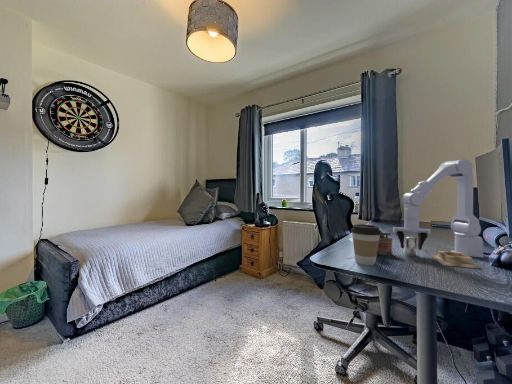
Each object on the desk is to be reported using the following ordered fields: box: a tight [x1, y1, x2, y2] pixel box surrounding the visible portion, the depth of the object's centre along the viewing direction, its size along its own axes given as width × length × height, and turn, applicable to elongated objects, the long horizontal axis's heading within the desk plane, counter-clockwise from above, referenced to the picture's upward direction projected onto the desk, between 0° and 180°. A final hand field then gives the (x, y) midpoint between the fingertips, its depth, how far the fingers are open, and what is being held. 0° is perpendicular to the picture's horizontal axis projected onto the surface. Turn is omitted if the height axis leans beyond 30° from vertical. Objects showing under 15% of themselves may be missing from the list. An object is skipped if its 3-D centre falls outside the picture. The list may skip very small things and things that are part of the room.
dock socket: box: [431, 250, 481, 269], centre depth 99 cm, size 12×12×3 cm
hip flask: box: [377, 231, 393, 256], centre depth 111 cm, size 8×3×10 cm, turn 69°
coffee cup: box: [350, 223, 382, 267], centre depth 97 cm, size 11×11×15 cm
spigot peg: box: [405, 236, 417, 257], centre depth 109 cm, size 4×4×8 cm
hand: (410, 248), depth 109 cm, fingers open, 6 cm apart
